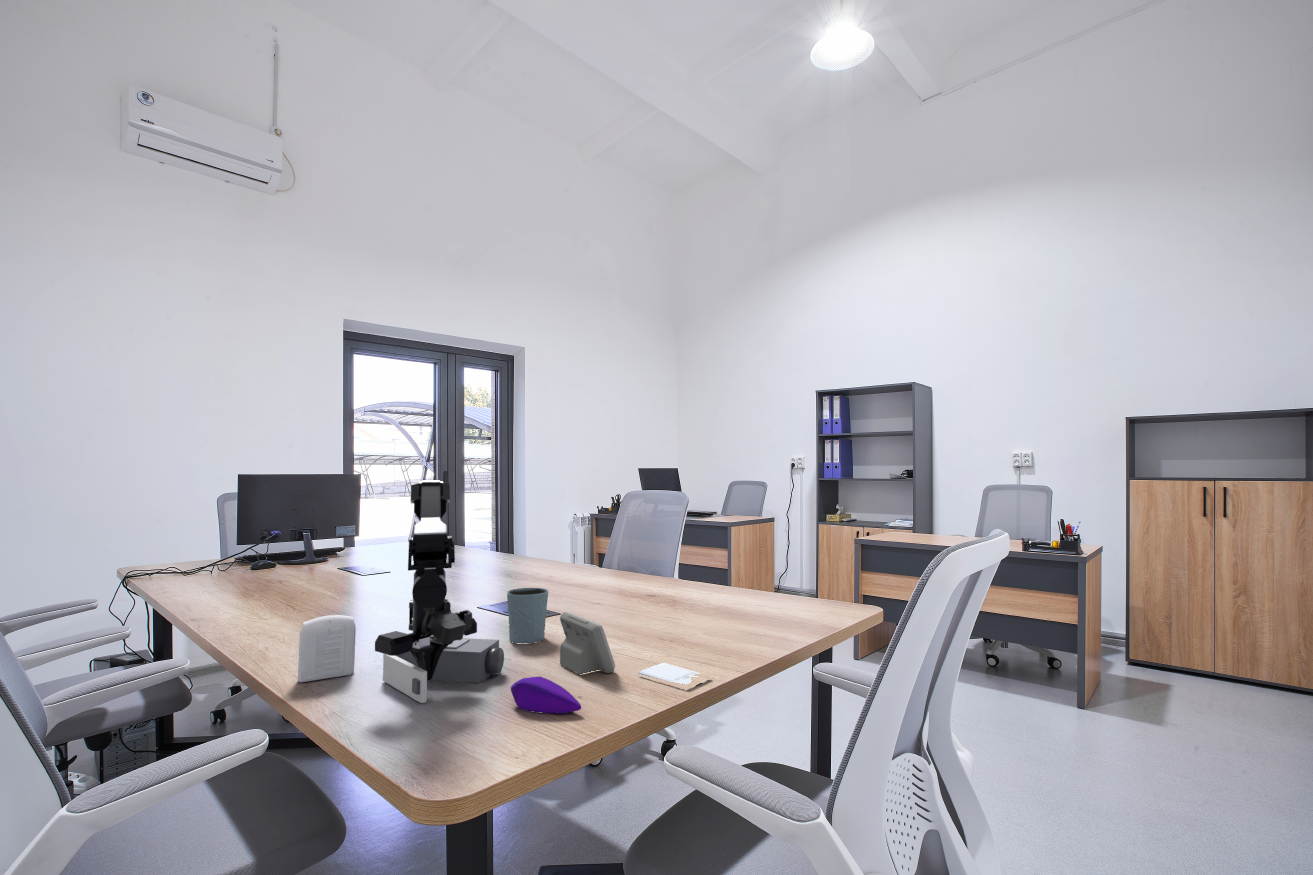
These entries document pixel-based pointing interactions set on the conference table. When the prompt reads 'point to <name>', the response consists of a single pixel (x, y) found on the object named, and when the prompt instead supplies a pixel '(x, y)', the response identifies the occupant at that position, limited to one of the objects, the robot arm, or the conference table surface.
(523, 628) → the teal cup
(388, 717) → the conference table surface
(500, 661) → the camera housing
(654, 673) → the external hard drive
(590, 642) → the digital clock
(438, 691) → the conference table surface
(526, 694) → the purple teardrop stone
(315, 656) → the white upright block
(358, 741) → the conference table surface
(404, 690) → the side door
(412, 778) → the conference table surface
